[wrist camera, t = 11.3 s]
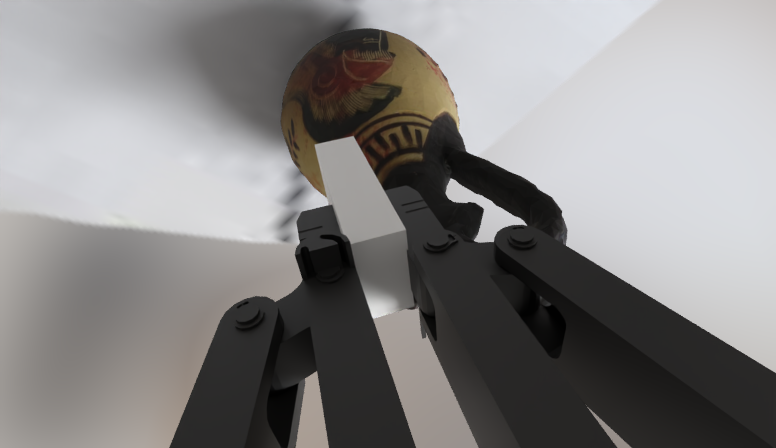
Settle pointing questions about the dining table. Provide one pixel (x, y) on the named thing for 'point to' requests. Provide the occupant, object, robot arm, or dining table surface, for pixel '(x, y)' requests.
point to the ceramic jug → (400, 129)
